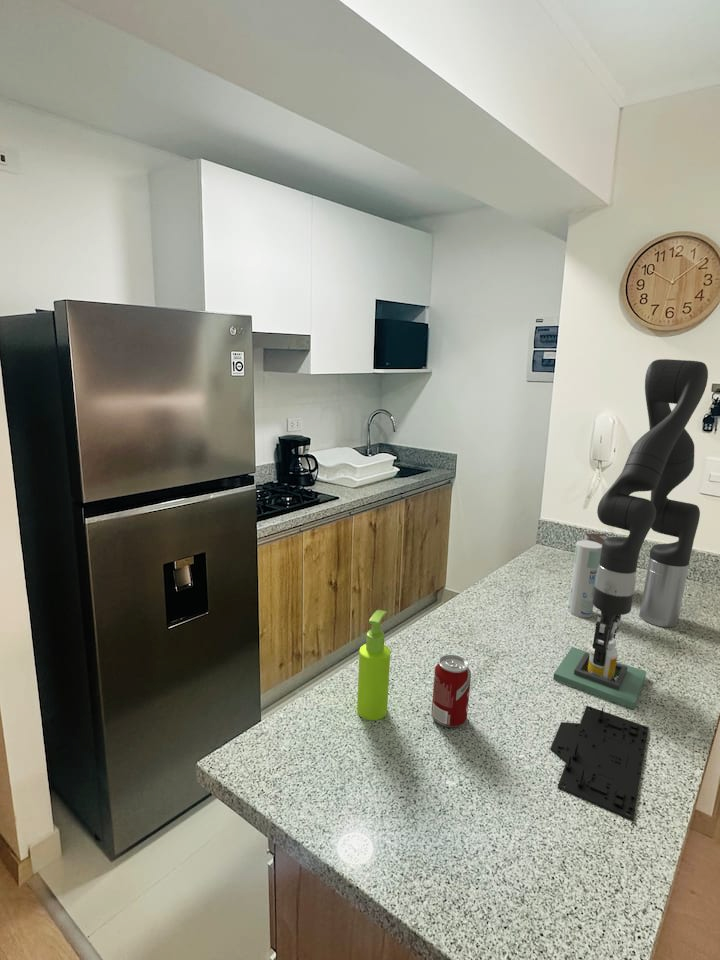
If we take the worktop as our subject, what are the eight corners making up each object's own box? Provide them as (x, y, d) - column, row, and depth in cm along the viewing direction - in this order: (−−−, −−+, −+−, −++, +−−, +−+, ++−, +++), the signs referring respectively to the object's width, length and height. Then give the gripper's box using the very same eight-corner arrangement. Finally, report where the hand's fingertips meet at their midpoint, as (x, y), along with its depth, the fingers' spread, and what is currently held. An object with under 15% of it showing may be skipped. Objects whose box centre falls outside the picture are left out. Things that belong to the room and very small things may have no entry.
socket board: (571, 652, 128) (572, 642, 127) (645, 677, 119) (647, 667, 118) (553, 679, 117) (554, 669, 116) (633, 709, 108) (635, 698, 107)
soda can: (445, 734, 99) (449, 677, 96) (424, 712, 104) (428, 657, 102) (473, 724, 102) (479, 668, 99) (452, 703, 108) (457, 649, 105)
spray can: (584, 620, 144) (594, 550, 139) (562, 610, 149) (571, 542, 144) (596, 613, 148) (607, 545, 143) (574, 604, 153) (584, 538, 148)
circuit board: (632, 823, 82) (635, 807, 81) (537, 782, 89) (539, 766, 88) (648, 731, 102) (650, 717, 102) (569, 703, 110) (571, 690, 109)
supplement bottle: (608, 672, 120) (614, 633, 118) (616, 687, 115) (623, 646, 113) (583, 670, 121) (589, 631, 118) (590, 684, 115) (597, 644, 113)
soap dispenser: (392, 702, 107) (397, 610, 103) (382, 723, 101) (387, 627, 96) (364, 695, 109) (368, 605, 104) (352, 716, 103) (356, 621, 98)
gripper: (626, 604, 105) (614, 677, 109) (640, 581, 116) (628, 648, 120) (586, 593, 109) (576, 664, 113) (603, 572, 120) (593, 637, 124)
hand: (603, 655), depth 116 cm, fingers open, 8 cm apart
